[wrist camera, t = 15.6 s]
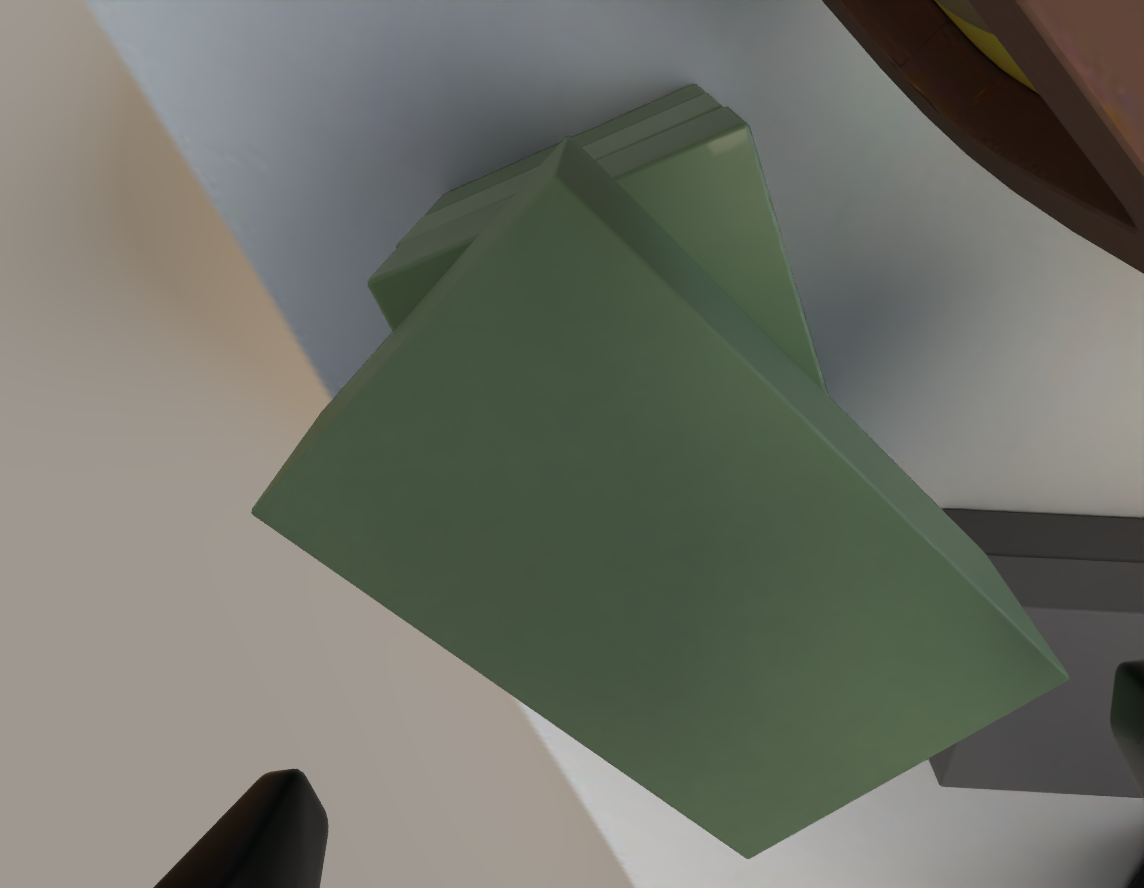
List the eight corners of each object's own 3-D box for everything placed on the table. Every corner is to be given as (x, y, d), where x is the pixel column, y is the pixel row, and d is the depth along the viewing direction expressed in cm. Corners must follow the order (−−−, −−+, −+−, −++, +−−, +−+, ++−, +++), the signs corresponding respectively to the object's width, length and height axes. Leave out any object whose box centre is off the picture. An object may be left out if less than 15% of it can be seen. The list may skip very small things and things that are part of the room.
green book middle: (841, 516, 19) (867, 574, 17) (605, 588, 20) (604, 648, 18) (707, 91, 15) (722, 104, 13) (419, 217, 16) (394, 246, 14)
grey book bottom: (1229, 692, 24) (1278, 747, 22) (891, 674, 24) (913, 726, 22) (1326, 526, 21) (1390, 573, 19) (941, 507, 21) (971, 553, 19)
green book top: (868, 574, 17) (902, 647, 15) (605, 648, 18) (605, 724, 16) (727, 104, 13) (749, 120, 11) (397, 244, 14) (363, 282, 12)
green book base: (820, 469, 21) (841, 516, 19) (606, 537, 22) (605, 588, 20) (696, 81, 17) (707, 91, 15) (440, 194, 18) (419, 217, 16)
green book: (725, 723, 16) (748, 861, 14) (320, 413, 13) (248, 514, 11) (986, 552, 14) (1072, 679, 11) (568, 132, 11) (555, 172, 8)
